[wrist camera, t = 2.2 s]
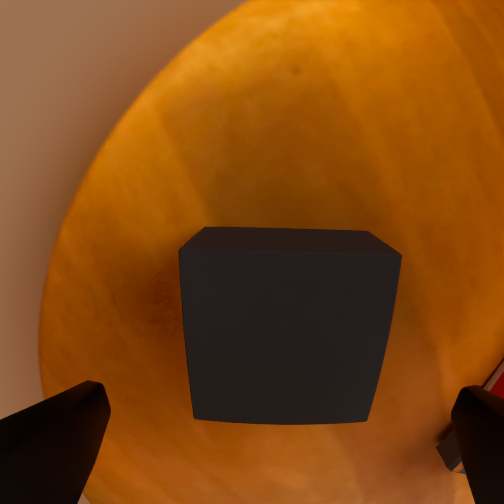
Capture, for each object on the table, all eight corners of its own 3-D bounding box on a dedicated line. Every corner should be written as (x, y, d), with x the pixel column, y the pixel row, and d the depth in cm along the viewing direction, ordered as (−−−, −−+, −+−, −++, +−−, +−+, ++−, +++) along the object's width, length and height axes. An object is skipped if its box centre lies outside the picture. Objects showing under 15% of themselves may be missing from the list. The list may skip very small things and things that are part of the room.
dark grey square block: (209, 366, 14) (193, 419, 10) (204, 226, 12) (177, 249, 9) (349, 369, 13) (367, 421, 10) (368, 230, 12) (403, 254, 8)
